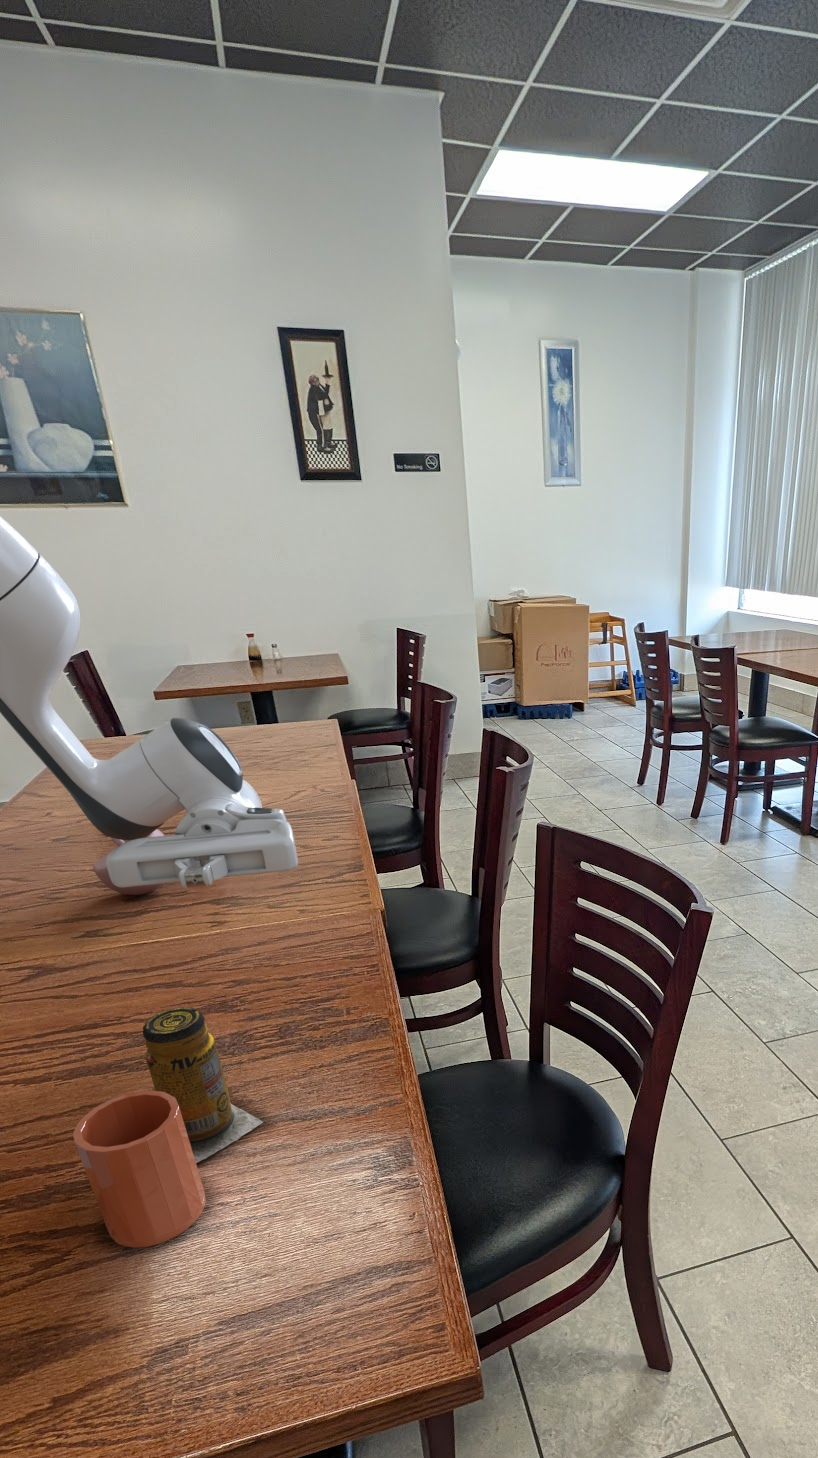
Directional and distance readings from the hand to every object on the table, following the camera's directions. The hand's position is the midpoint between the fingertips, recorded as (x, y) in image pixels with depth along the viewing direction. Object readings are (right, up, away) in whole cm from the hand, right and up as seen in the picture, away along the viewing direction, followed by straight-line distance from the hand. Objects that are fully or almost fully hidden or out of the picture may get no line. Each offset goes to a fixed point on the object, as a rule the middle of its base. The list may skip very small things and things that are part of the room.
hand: (194, 880), depth 88 cm
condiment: (+5, -25, -8) cm, 27 cm away
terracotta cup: (+5, -30, -18) cm, 35 cm away
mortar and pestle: (-30, +1, +48) cm, 57 cm away
